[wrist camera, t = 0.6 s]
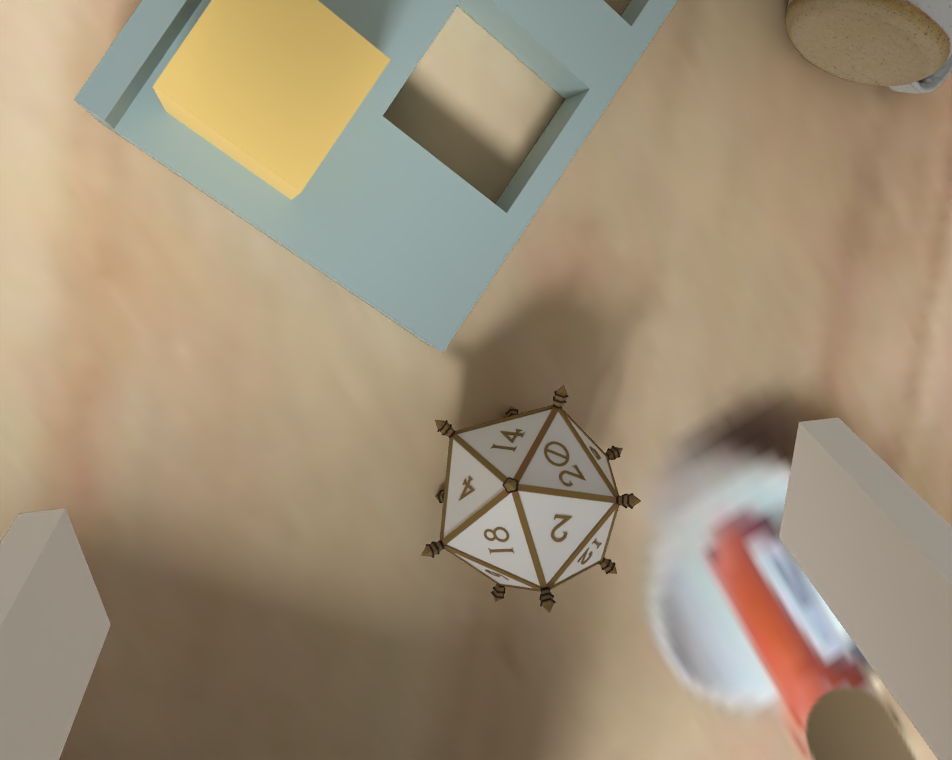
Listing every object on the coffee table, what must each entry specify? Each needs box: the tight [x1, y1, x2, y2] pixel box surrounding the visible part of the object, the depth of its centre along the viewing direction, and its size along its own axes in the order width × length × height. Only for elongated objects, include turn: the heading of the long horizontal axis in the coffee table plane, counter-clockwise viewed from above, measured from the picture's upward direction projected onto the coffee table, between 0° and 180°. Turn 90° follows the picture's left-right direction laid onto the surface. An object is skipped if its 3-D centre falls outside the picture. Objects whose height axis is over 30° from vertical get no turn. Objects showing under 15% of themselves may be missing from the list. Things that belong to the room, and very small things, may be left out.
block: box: [153, 0, 391, 200], centre depth 25 cm, size 5×5×4 cm
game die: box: [422, 385, 641, 613], centre depth 31 cm, size 9×8×10 cm
